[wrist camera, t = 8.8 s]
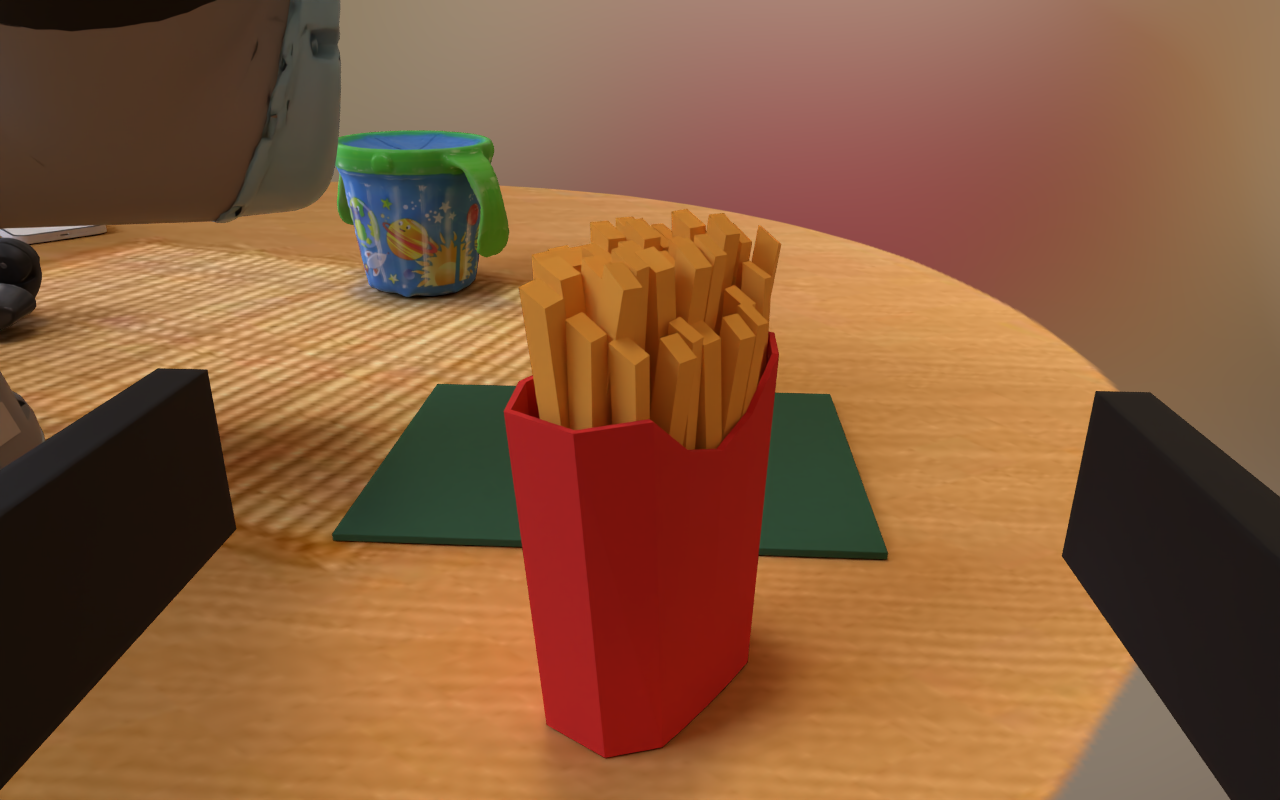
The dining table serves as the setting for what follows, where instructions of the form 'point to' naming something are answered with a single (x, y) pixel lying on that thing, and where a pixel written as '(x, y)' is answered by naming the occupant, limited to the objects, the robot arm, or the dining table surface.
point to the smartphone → (50, 233)
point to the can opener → (17, 280)
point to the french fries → (643, 470)
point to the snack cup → (421, 207)
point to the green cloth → (485, 497)
